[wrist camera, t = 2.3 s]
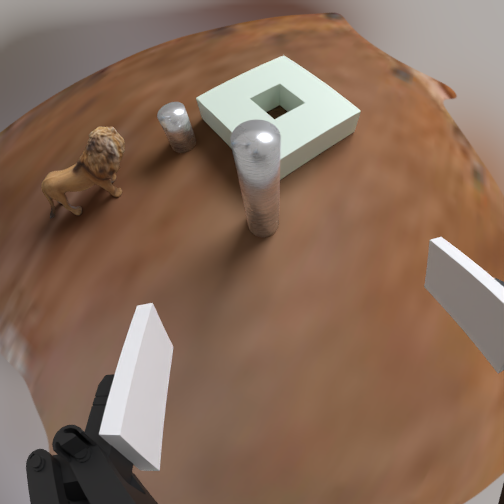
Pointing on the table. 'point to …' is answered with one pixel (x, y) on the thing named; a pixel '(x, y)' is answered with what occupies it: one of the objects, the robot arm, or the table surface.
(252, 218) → the tall peg
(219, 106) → the socket block
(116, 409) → the robot arm
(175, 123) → the short peg
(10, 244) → the table surface
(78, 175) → the lion figurine
